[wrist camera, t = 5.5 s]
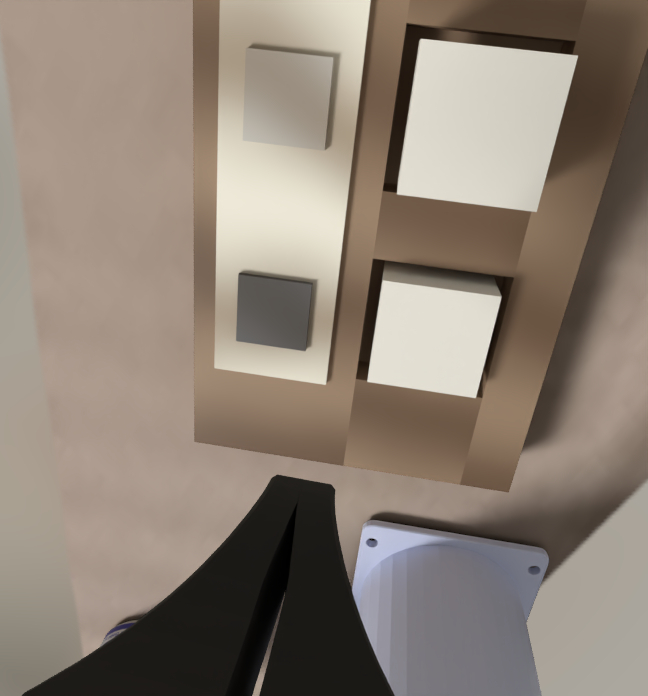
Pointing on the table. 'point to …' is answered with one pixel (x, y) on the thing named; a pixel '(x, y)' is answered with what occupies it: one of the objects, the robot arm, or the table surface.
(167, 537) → the table surface
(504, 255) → the button board
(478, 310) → the button
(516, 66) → the button middle
